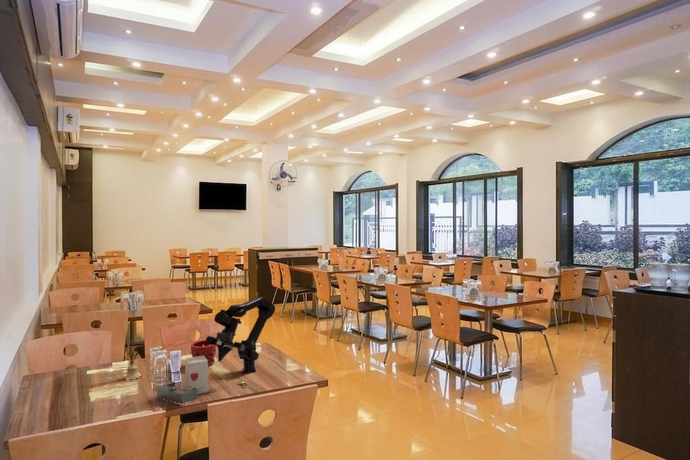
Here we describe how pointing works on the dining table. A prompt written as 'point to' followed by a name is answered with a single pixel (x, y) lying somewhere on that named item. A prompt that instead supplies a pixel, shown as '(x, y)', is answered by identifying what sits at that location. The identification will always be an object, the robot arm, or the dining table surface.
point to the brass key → (243, 384)
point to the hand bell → (132, 366)
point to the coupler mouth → (176, 393)
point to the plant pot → (204, 351)
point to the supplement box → (196, 374)
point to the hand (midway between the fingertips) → (219, 361)
